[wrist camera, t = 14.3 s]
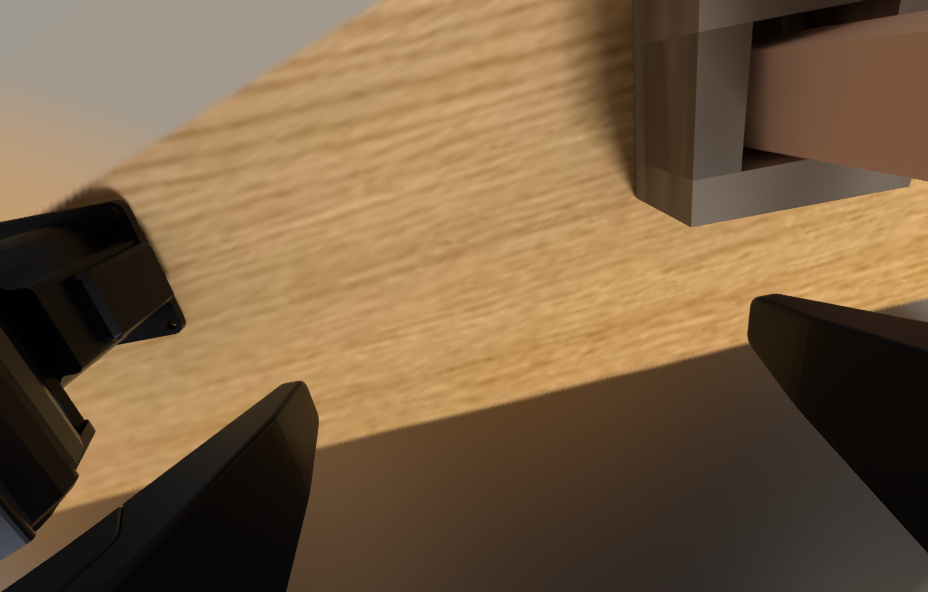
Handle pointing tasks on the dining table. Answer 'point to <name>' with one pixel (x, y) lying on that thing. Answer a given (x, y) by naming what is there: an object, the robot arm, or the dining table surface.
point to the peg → (844, 95)
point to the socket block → (728, 109)
